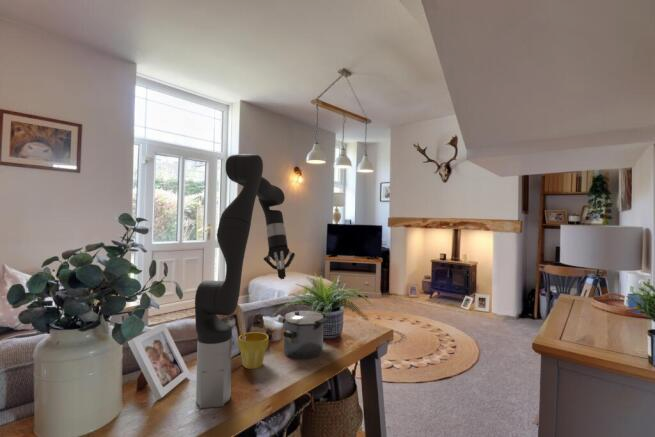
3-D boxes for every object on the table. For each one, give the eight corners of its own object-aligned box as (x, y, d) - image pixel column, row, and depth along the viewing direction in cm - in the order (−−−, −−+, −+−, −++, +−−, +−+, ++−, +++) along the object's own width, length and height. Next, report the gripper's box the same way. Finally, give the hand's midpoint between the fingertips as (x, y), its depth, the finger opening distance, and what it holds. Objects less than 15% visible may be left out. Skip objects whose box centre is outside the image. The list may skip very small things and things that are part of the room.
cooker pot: (333, 347, 137) (333, 316, 137) (303, 365, 121) (304, 330, 121) (299, 338, 146) (299, 309, 146) (267, 353, 130) (268, 321, 130)
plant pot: (273, 360, 124) (273, 333, 123) (259, 373, 114) (260, 343, 114) (247, 356, 127) (247, 330, 126) (231, 368, 117) (232, 339, 117)
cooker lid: (334, 318, 134) (335, 313, 134) (313, 328, 122) (313, 322, 122) (300, 311, 143) (300, 306, 143) (277, 320, 131) (277, 314, 131)
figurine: (260, 338, 146) (261, 309, 146) (269, 343, 141) (270, 313, 141) (245, 341, 141) (246, 312, 141) (254, 347, 136) (255, 316, 136)
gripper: (258, 236, 135) (264, 281, 131) (292, 231, 136) (298, 275, 132) (261, 240, 142) (266, 282, 138) (293, 235, 143) (299, 277, 139)
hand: (282, 278), depth 135 cm, fingers closed
